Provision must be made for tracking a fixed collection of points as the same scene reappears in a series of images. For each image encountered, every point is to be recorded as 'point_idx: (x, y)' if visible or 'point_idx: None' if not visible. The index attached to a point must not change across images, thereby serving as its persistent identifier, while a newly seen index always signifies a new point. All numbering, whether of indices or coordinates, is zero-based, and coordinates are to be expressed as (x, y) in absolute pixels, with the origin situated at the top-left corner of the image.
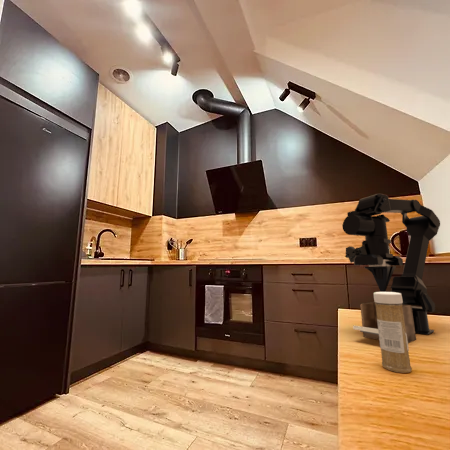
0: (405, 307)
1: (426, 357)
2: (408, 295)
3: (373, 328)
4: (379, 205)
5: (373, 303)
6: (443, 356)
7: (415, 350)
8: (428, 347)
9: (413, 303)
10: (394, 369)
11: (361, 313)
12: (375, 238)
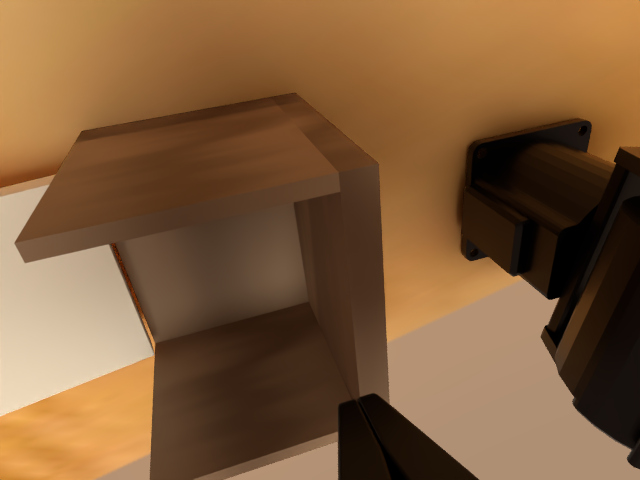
0: (266, 460)
1: (56, 453)
2: (595, 374)
3: (62, 260)
4: None
5: (338, 188)
6: (140, 453)
7: (114, 391)
8: None
9: (564, 334)
10: None
11: (45, 199)
12: None
